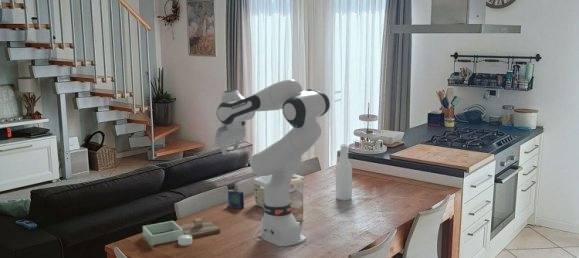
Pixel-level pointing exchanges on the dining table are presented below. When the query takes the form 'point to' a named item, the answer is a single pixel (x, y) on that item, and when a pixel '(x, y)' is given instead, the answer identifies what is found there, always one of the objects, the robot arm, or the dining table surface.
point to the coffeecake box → (296, 198)
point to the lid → (199, 228)
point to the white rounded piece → (185, 240)
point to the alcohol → (344, 175)
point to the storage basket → (260, 186)
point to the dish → (162, 237)
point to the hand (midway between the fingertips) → (230, 151)
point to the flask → (235, 198)
